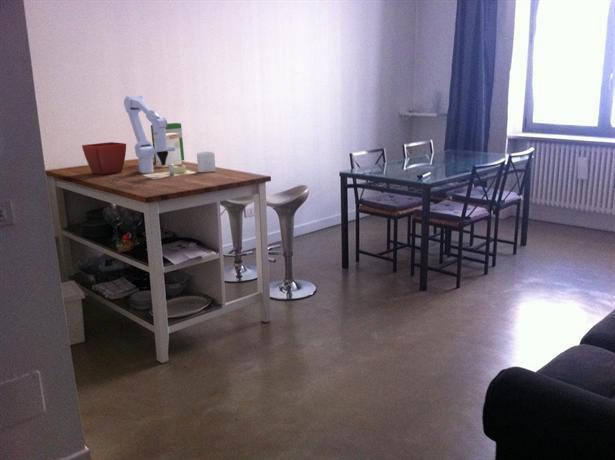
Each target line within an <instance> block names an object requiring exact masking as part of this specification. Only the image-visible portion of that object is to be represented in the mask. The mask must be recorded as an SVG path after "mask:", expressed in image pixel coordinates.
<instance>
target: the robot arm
mask: <svg viewBox="0 0 615 460" xmlns="http://www.w3.org/2000/svg"><path fill="white" fill-rule="evenodd" d="M123 106H124V108H125V111H126V113H127V115H128V117H129V121H130V124H131V127H132V130H133V133H134V136H135V139H136V142H137V143H135V145H134V151H135V155H136V157H137V159H138V161H137V163H138V170H139V171H138V173H141V174H152V173H155V171H154V159H153V158H154V154H155V153H157V155H158V157H159V159H160V161H161V164H162V165H165V163H166V158H167V155H168V151H175V147H170V148H167V141H166V130H165V128H166V127H167V124H168V121H167V119H166V118H165V117H161V116H160V115H159V114H158V113H157V112H156V110H154V109H150V108H149V106H148V105H147V104H146V101H145V98H144V97H143V96H142V95H137V96H136V95H134V96H132V95H131V96H126V97H125V98H124V99H123ZM141 111H142V113H144V114H145V118H146V120H147V121H149V122H150V123H151V125H152V127H153V129H154V132H155V137H156V148H157V149H154V147H153V143H152V142H151V141H149V140H148V139H147V136H146V134H145V131H144V127H143V125H142V121H141V120H140V117H139V113H140V112H141ZM164 150H166V151H164ZM157 151H158V152H157Z"/></svg>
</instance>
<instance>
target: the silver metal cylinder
mask: <svg viewBox="0 0 615 460" xmlns="http://www.w3.org/2000/svg"><path fill="white" fill-rule="evenodd" d="M168 166H169V167H168V172H169V176H171V177H175V176H174V175H175V174H174V166H175V165H174V164H169V165H168Z"/></svg>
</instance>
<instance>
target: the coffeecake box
mask: <svg viewBox="0 0 615 460" xmlns="http://www.w3.org/2000/svg"><path fill="white" fill-rule="evenodd" d="M166 141H167V148H170V147H175V151H168V155H167V158H166V163H165V165H162V164H161V161H160V159H159V157H158V155H157V153H155V154H156V162H155V163H156V168H169V166H168V165H169V164H174V166H177V165H183V164H182V161H181V151H180V141H179V133H168V134H166ZM154 145H155V149H157V148H156V137H155V135H154ZM164 151H166V150H164ZM157 152H158V151H157Z"/></svg>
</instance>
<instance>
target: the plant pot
mask: <svg viewBox="0 0 615 460" xmlns="http://www.w3.org/2000/svg"><path fill="white" fill-rule="evenodd" d="M81 148H82V151H83V154H84V157H85V160H86V163H87V164H88V167H89V169H90V171H91V173H93V174H97V175H100V176H101V175H102V176H104V175H110V174H116V173H117V174H118V173H122V171H123V169H124V165H125V160H126V153H127V143H123V142H115V141H110V142H101V143H91V144H90V143H89V144H82V145H81Z"/></svg>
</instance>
